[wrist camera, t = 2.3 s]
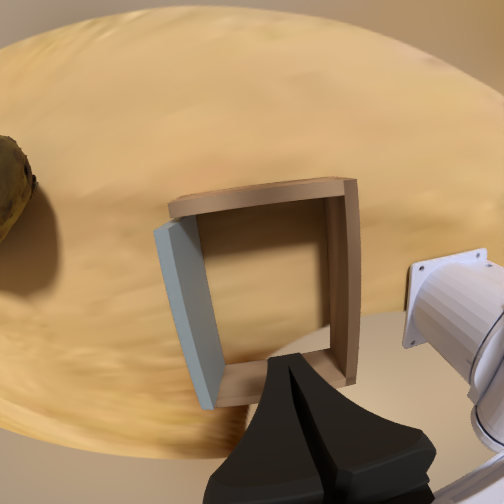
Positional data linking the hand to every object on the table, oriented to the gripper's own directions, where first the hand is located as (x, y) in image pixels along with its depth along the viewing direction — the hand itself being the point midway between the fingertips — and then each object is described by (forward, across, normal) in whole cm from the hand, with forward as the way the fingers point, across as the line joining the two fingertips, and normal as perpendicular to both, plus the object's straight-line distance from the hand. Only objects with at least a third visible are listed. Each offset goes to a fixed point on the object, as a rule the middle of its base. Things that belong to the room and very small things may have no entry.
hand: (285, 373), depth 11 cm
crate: (+9, 0, 0) cm, 9 cm away
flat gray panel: (+9, +4, 0) cm, 10 cm away
